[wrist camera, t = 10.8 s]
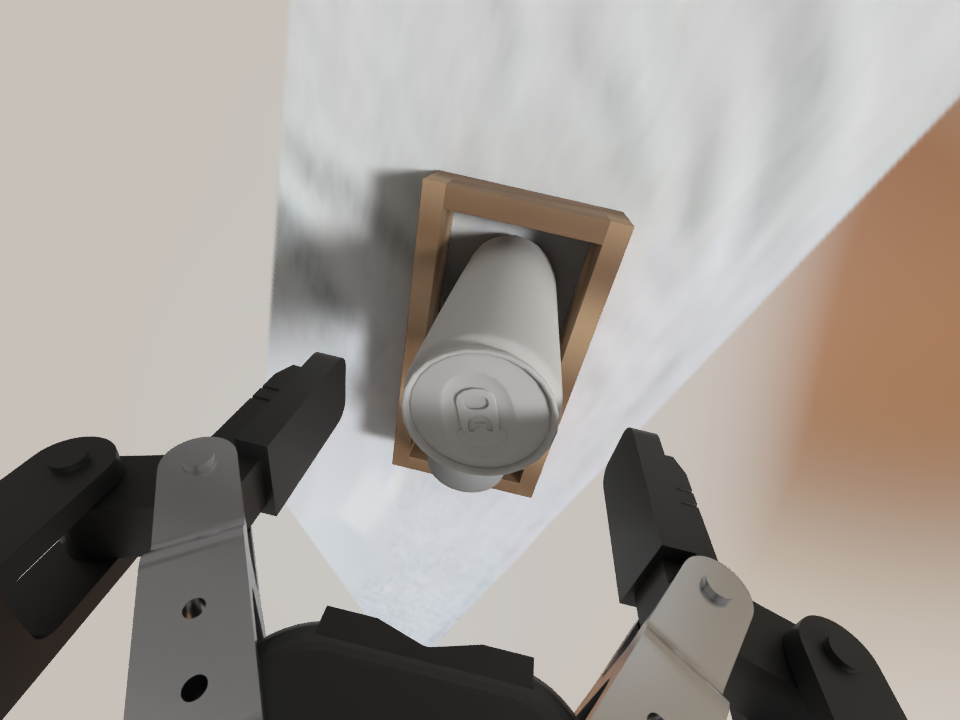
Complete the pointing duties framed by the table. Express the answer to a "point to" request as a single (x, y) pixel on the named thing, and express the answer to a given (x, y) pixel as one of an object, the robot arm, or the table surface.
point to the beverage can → (490, 365)
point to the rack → (520, 209)
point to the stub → (462, 478)
